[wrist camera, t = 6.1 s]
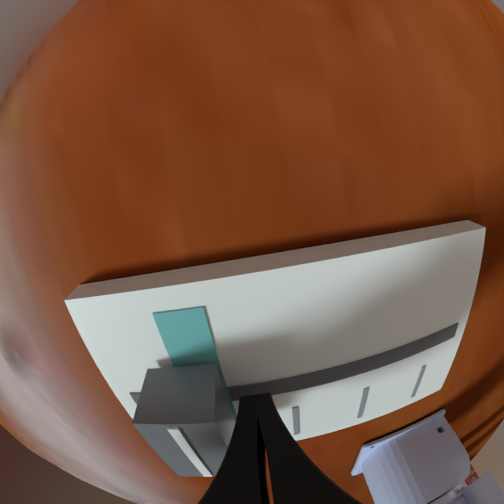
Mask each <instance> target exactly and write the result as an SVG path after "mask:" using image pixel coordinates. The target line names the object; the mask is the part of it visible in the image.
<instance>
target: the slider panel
mask: <svg viewBox="0 0 504 504" xmlns="http://www.w3.org/2000/svg"><path fill="white" fill-rule="evenodd" d="M485 231H486V227H484V226H481V225H479V224H476V223H474V222H472V221H469V220H464V221H458V222H453V223H447V224H442V225H436V226H430V227H424V228H419V229H413V230H407V231H402V232H396V233H390V234H384V235H378V236H373V237H367V238H361V239H355V240H349V241H343V242H338V243H332V244H326V245H320V246H314V247H308V248H302V249H296V250H290V251H284V252H278V253H272V254H266V255H260V256H254V257H248V258H242V259H236V260H230V261H224V262H218V263H212V264H206V265H199V266H193V267H187V268H181V269H175V270H169V271H162V272H156V273H150V274H144V275H138V276H131V277H125V278H119V279H112V280H106V281H100V282H93V283H87V284H81V285H78V286H77V287H76V288H75V290H74V291H73V292H72V293H71V294H70V295H69V296H68V297H67V298H66V299H65V300H64V301H65V303H66V305H67V308H68V310H69V312H70V314H71V317H72V319H73V321H74V323H75V325H76V327H77V329H78V331H79V333H80V335H81V337H82V339H83V341H84V343H85V345H86V347H87V348H88V350H89V352H90V354H91V356H92V358H93V359H94V361H95V363H96V365H97V366H98V368H99V370H100V371H101V373H102V375H103V376H104V378H105V379H106V381H107V383H108V384H109V386H110V387H111V389H112V390H113V392H114V393H115V395H116V396H117V398H118V399H119V401H120V402H121V404H122V405H123V406H124V408H125V409H126V411H127V412H128V413H129V415H130V416H131V417H132V419H133V418H134V414H135V410H136V407H137V403H138V400H139V396H140V392H141V389H142V386H143V382H144V379H145V375H146V372H147V369H151V368H168V367H181V366H192V365H202V364H212V363H216V365H217V368H218V371H219V374H220V377H221V380H222V383H223V386H224V389H225V392H226V395H227V398H228V401H229V404H230V407H231V409H232V412H233V415H234V418H235V420H236V418H237V413H238V407H239V398H240V397H242V396H249V395H256V394H262V393H268V392H269V393H271V395H272V398H273V401H274V404H275V406H276V409H277V411H278V413H279V415H280V417H281V419H282V421H283V422H284V424H285V426H286V427H287V429H288V430H289V432H290V434H291V435H292V437H293V438H294V440H295V441H297V440H301V439H306V438H310V437H314V436H319V435H322V434H326V433H330V432H334V431H337V430H341V429H344V428H347V427H350V426H354V425H357V424H360V423H363V422H366V421H369V420H371V419H374V418H377V417H379V416H382V415H385V414H387V413H390V412H392V411H395V410H397V409H400V408H402V407H404V406H406V405H409V404H411V403H413V402H415V401H417V400H420V399H422V398H424V397H426V396H428V395H430V394H432V393H434V392H436V391H438V390H440V389H441V387H442V385H443V383H444V381H445V379H446V376H447V374H448V372H449V369H450V367H451V365H452V362H453V360H454V357H455V354H456V352H457V349H458V346H459V344H460V341H461V338H462V335H463V332H464V329H465V326H466V323H467V319H468V316H469V313H470V309H471V305H472V302H473V298H474V294H475V289H476V285H477V280H478V276H479V271H480V265H481V260H482V254H483V247H484V240H485Z"/></svg>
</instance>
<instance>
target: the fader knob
mask: <svg viewBox="0 0 504 504" xmlns="http://www.w3.org/2000/svg"><path fill="white" fill-rule="evenodd" d="M235 422H236V420H235V418H234V415H233V412H232V409H231V407H230V404H229V401H228V398H227V395H226V392H225V389H224V386H223V383H222V380H221V377H220V374H219V371H218V368H217V365H216V363H212V364H202V365H192V366H181V367H168V368H151V369H147V372H146V375H145V379H144V382H143V386H142V389H141V392H140V396H139V400H138V403H137V407H136V410H135V414H134V418H133V422H132V424H133V425H134V426H135V428H136V429H137V430H138V432H139V433H140V434H141V435H142V436H143V438H144V439H145V440H146V441H147V442H148V443H149V445H150V446H151V447H152V448H153V449H154V450H155V451H156V453H157V454H158V455H159V456H160V457H161V458H162V459H163V460H164V461H165V462H166V463H167V464H168V465H169V466H170V468H171V469H172V470H173V471H174V472H175V473H176V474H177V475H178V476H204V477H212V476H216V474H217V472H218V470H219V468H220V465H221V463H222V461H223V459H224V456H225V454H226V451H227V448H228V446H229V443H230V440H231V437H232V433H233V430H234V426H235Z"/></svg>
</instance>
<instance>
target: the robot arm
mask: <svg viewBox="0 0 504 504" xmlns="http://www.w3.org/2000/svg"><path fill="white" fill-rule="evenodd" d="M445 413H446V411H445V409H442V410H440V411H438V412H437V413H435V414H433V415H431V416H429V417H427V418H425V419H423V420H421V421H419V422H417V423H415V424H413V425H411V426H409V427H407V428H404V429H402V430H400V431H398V432H395V433H393V434H390V435H388V436H386V437H383V438H380V439H378V440H375V441H373V442H370V443H367V444H365V445H364V446H362V448H361V451H360V453H359V456H358V458H357V460H356V463H355V465H354V467H353V470H352V472H351V474H352V475H357V474H360V473H363V474H364V476H365V479H366V482H367V484H368V487H369V489H370V492H371V495H372V497H373V500H374V503H375V504H504V493H503V491H502V489H501V487H500V485H499V483H498V482H497V480H496V478H495V477H494V475H493V473H492V471H491V470H489V471H487V472H486V473H485V474H483V475H482V476H481V477H480V478H478V479H477V480H476V481H475V482H473V483H472V484H471V485H469V486H468V487H462V488H460V489H459V490H458V488H456V487H457V486H458V485H460V484H461V483H462V482H464V481H465V480H466V478H467V477H468V475H469V472H470V459H469V456H468V453H467V451H466V449H465V448H464V446H463V445H462V443H461V442H460V440H459V438H458V437H457V435H456V434H455V432H454V431H453V429H452V428H451V426H450V425H449V423H448V422H447V420H446V419H445V417H444V414H445ZM265 448H266V452H267V457H268V465H269V472H270V479H271V486H272V493H273V501H274V504H362V503H361V502H359V501H358V500H356V499H355V498H353V497H352V496H350V495H349V494H348V493H346V492H345V491H344V490H342V489H341V488H340V487H339V486H337V485H336V484H335V483H334V482H333V481H332V480H330V479H329V478H328V477H327V476H326V475H325V474H324V473H323V472H322V471H321V470H320V469H319V468H318V467H317V466H316V465H315V464H314V463H313V462H312V461H311V460H310V459H309V457H308V456H307V455H306V454H305V453H304V451H303V450H302V449H301V448H300V446H299V445H298V444H297V442H296V441H295V440H294V438H293V437H292V435H291V434H290V432H289V430H288V429H287V427H286V426H285V424H284V422H283V421H282V419H281V417H280V415H279V413H278V411H277V409H276V406H275V404H274V401H273V398H272V395H271V393H269V392H268V393H262V394H256V395H249V396H242V397H240V398H239V407H238V413H237V418H236V422H235V426H234V430H233V433H232V437H231V440H230V443H229V446H228V448H227V451H226V454H225V456H224V459H223V461H222V463H221V465H220V468H219V470H218V472H217V474H216V476H215V477H214V479H213V481H212V483H211V485H210V486H209V488H208V490H207V491H206V493H205V494H204V496H203V497H202V499H201V500H200V502H199V503H198V504H270V500H269V494H268V488H267V478H266V457H265ZM454 488H455V489H454Z"/></svg>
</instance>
